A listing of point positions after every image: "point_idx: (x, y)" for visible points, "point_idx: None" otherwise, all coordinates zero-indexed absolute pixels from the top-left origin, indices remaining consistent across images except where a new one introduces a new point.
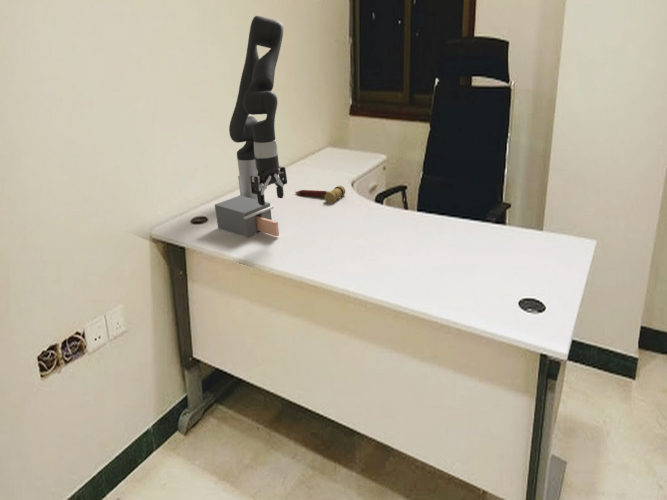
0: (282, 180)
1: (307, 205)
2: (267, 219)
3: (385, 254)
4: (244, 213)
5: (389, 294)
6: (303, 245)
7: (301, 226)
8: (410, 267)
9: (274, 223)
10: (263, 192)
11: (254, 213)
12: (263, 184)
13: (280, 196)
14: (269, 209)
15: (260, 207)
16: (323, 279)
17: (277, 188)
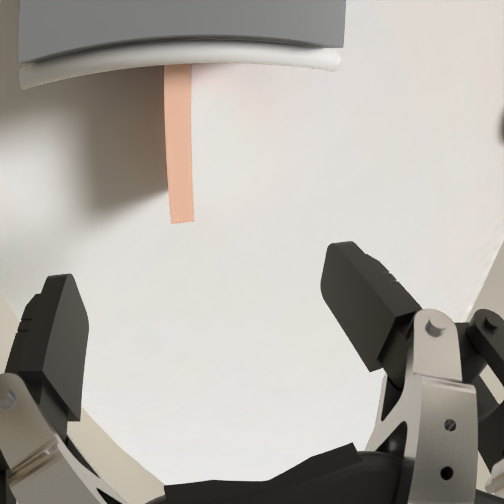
0: (479, 367)
1: (490, 63)
2: (182, 133)
3: (267, 422)
4: (19, 62)
5: (158, 470)
6: (189, 314)
7: (337, 173)
8: (245, 451)
9: (170, 214)
10: (73, 451)
11: (118, 63)
12: None
13: (329, 290)
14: (291, 64)
15: (221, 35)
16: (106, 430)
17: (381, 321)
